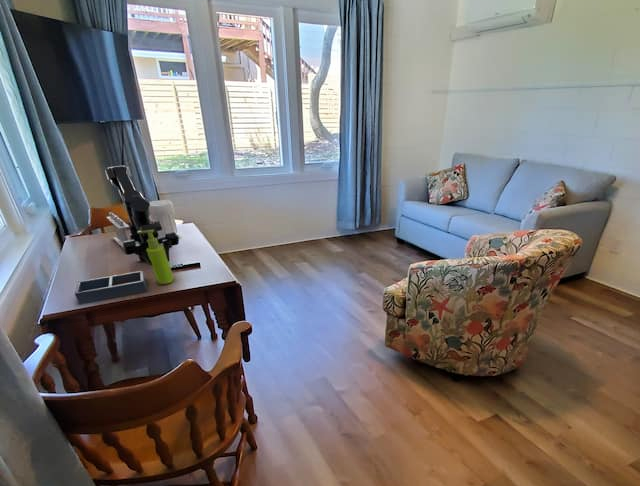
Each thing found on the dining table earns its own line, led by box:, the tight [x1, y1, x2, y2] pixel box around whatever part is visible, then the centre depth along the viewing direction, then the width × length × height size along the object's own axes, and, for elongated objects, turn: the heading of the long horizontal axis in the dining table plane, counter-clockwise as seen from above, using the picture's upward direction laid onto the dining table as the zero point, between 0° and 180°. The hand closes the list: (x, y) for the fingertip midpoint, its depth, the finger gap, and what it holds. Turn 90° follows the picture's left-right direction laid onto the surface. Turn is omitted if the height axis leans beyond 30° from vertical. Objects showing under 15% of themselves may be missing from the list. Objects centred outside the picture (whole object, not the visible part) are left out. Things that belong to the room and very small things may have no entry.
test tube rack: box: [105, 212, 130, 250], centre depth 187 cm, size 25×4×13 cm, turn 40°
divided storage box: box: [74, 270, 148, 305], centre depth 145 cm, size 11×22×4 cm, turn 116°
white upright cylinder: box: [148, 199, 179, 238], centre depth 192 cm, size 11×11×17 cm
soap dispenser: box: [137, 229, 175, 285], centre depth 147 cm, size 6×7×20 cm
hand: (160, 263), depth 147 cm, fingers closed on soap dispenser, 6 cm apart
